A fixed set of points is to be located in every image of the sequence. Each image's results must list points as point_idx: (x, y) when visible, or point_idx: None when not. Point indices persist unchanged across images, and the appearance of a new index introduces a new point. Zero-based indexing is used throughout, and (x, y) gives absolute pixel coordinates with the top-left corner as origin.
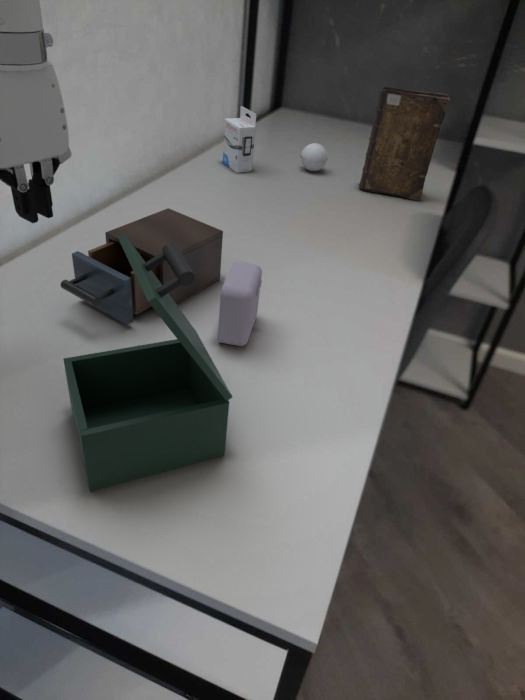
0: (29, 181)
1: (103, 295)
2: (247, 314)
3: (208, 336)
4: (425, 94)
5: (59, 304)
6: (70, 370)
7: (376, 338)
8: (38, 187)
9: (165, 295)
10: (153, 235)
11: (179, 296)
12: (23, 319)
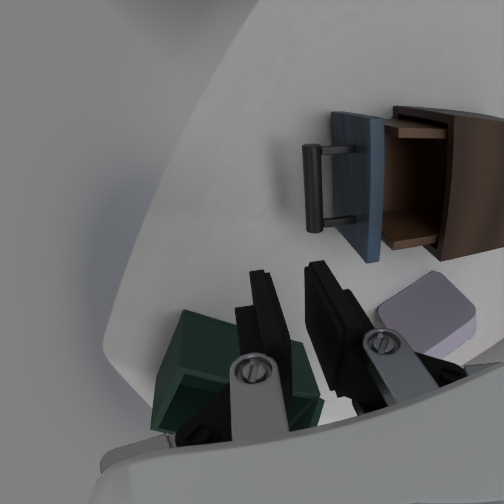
0: (344, 329)
1: (333, 226)
2: None
3: (383, 290)
4: None
5: (301, 97)
6: (176, 382)
7: (450, 361)
8: (331, 374)
9: None
10: (487, 186)
11: None
12: (232, 98)
